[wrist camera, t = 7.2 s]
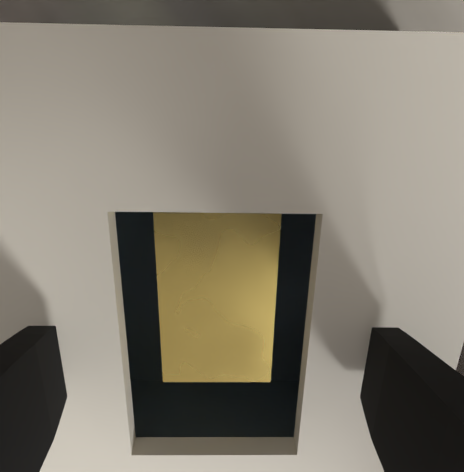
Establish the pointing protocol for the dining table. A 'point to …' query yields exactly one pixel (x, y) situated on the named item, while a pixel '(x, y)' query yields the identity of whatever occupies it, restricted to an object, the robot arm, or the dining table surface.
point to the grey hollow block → (229, 201)
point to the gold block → (216, 294)
